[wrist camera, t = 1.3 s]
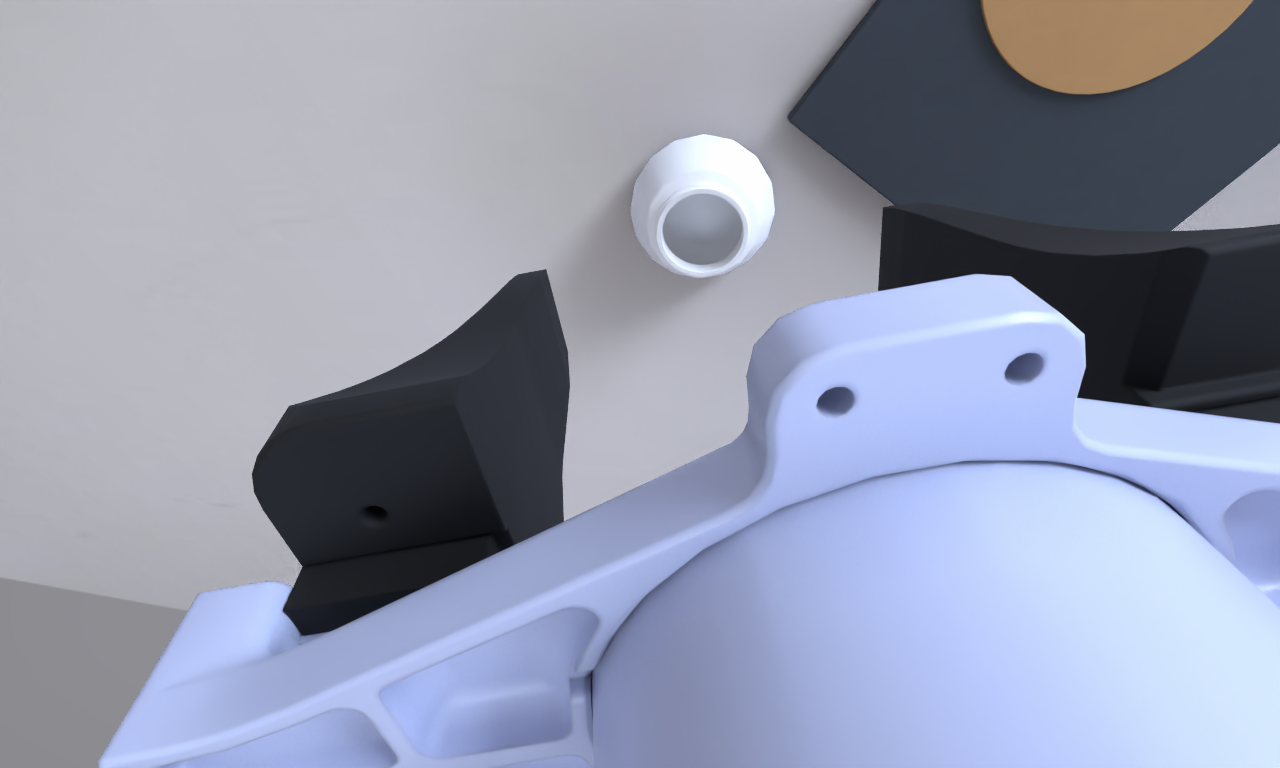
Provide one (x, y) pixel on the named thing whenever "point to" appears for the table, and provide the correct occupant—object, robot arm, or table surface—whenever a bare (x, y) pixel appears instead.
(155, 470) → the table surface
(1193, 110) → the mat
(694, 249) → the lidless jar
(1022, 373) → the robot arm
